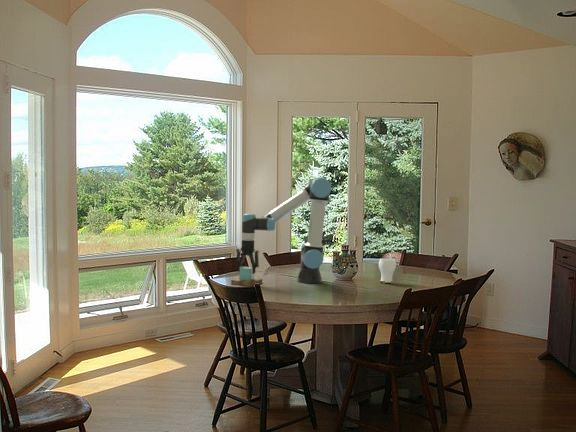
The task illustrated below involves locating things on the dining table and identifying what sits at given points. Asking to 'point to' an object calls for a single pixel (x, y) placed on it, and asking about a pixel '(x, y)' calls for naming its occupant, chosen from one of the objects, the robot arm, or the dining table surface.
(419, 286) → the dining table surface
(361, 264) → the dining table surface
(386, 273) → the cup
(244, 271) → the mint green cube
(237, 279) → the stand
